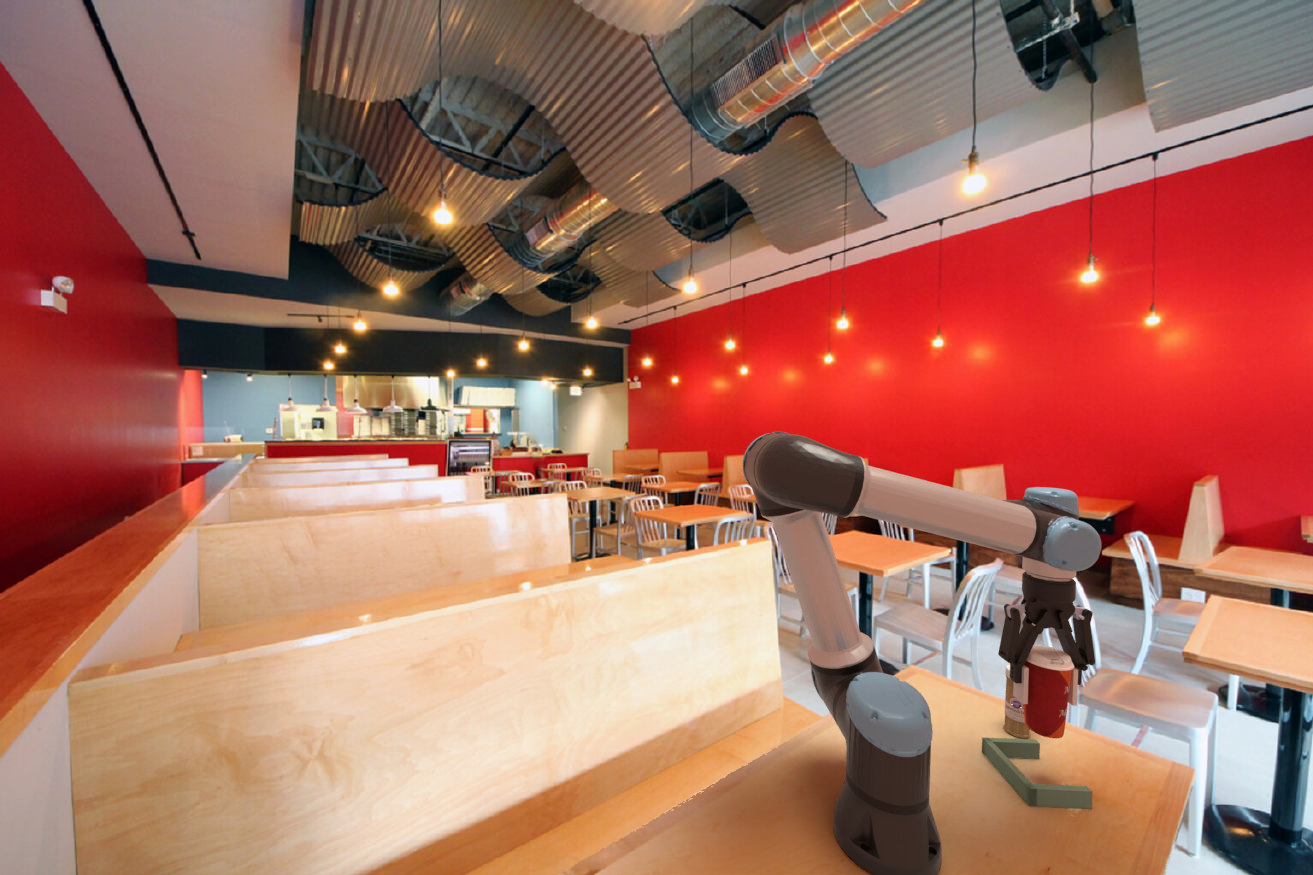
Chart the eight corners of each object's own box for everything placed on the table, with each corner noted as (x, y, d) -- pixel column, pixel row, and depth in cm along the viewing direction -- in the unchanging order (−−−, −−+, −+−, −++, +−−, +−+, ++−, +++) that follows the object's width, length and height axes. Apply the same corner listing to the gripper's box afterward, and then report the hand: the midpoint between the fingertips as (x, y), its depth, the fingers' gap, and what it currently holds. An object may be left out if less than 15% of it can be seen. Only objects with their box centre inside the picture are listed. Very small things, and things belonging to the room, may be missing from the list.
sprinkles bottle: (1004, 734, 102) (1007, 670, 102) (1002, 722, 106) (1004, 661, 106) (1032, 741, 100) (1034, 676, 99) (1029, 729, 104) (1031, 666, 103)
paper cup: (1082, 745, 85) (1085, 664, 84) (1031, 739, 86) (1033, 660, 86) (1055, 717, 92) (1057, 644, 92) (1008, 713, 94) (1011, 640, 93)
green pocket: (1029, 805, 83) (1030, 788, 83) (981, 752, 97) (982, 737, 97) (1091, 808, 83) (1092, 791, 83) (1035, 754, 96) (1035, 739, 96)
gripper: (1002, 580, 85) (998, 710, 86) (1128, 583, 84) (1122, 714, 85) (976, 567, 93) (973, 687, 93) (1091, 569, 91) (1087, 690, 92)
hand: (1044, 700), depth 89 cm, fingers closed on paper cup, 8 cm apart
